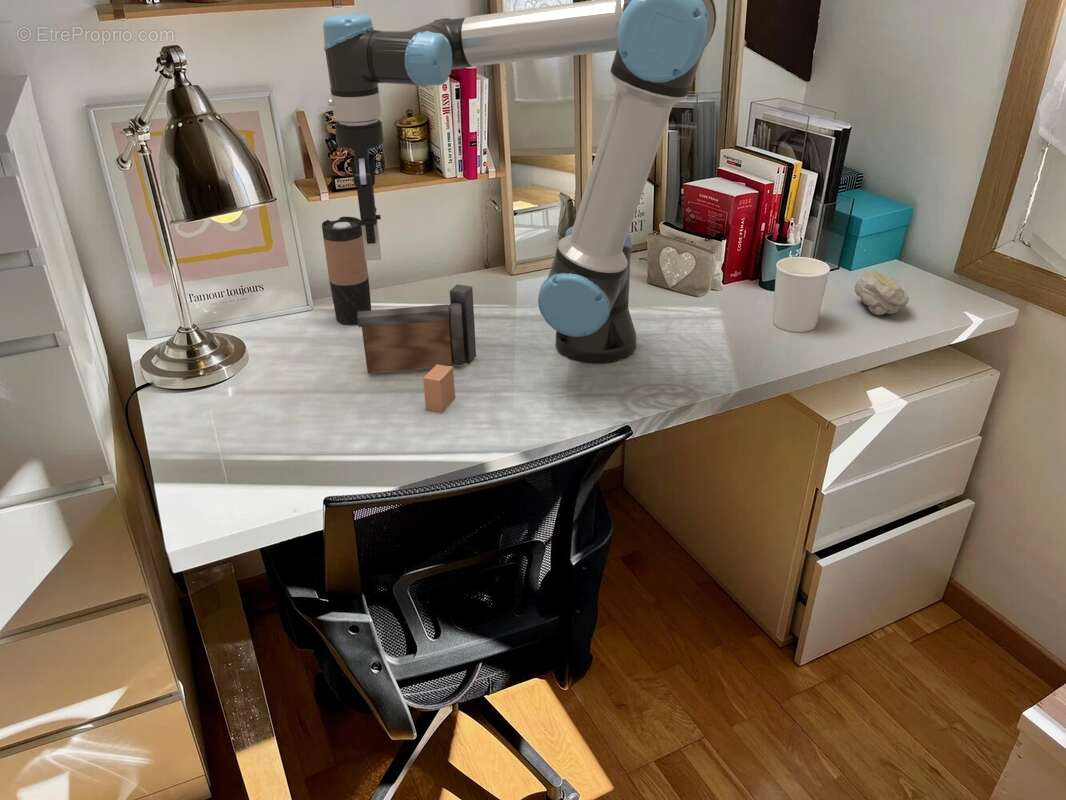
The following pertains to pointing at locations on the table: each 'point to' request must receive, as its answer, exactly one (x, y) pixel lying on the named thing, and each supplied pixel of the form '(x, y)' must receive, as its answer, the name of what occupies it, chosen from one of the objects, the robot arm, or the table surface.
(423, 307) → the walnut gate
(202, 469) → the table surface
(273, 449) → the table surface
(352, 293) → the travel mug
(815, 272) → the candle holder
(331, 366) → the table surface
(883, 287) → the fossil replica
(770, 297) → the table surface
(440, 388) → the block
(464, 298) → the hinge post
